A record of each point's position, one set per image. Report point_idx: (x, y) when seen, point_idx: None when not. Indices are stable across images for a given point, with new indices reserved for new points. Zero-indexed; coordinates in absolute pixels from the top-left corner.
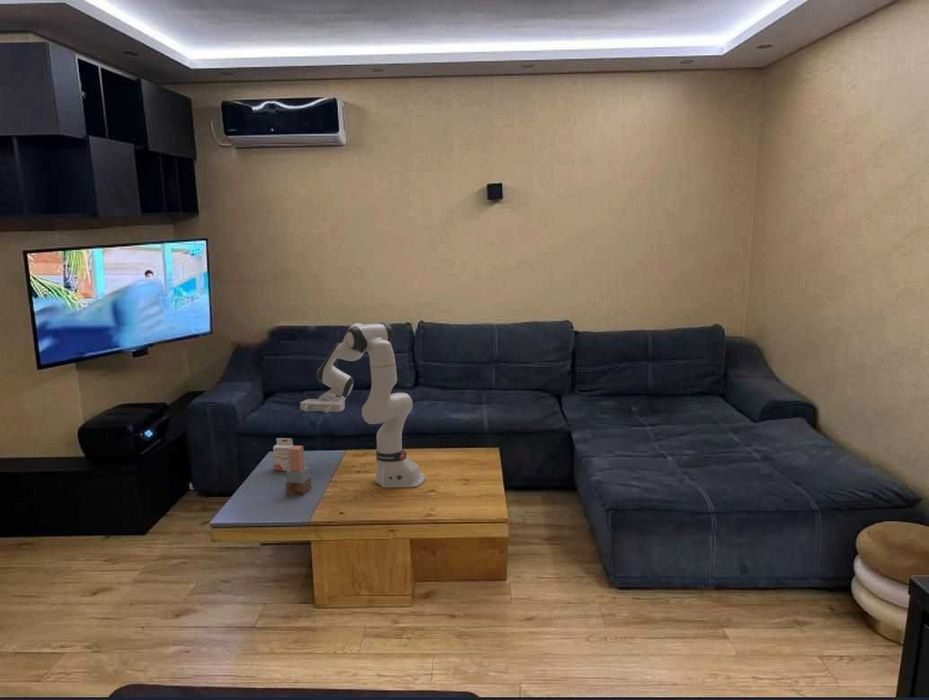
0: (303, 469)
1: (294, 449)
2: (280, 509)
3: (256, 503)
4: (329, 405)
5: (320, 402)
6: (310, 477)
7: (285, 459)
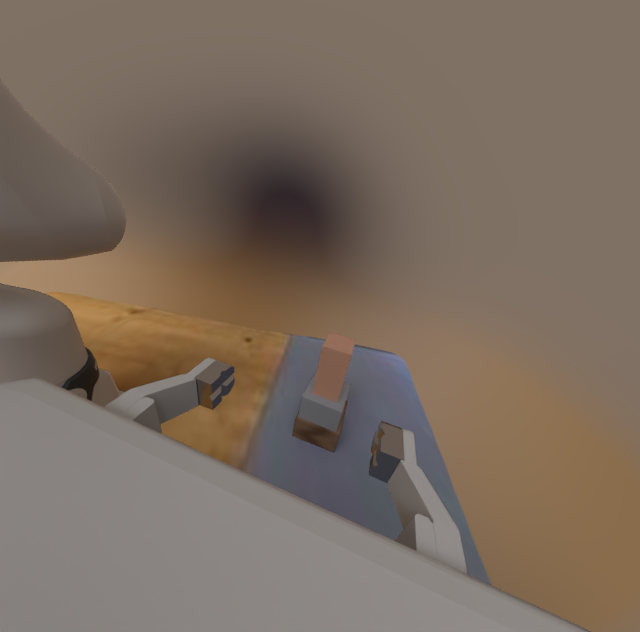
0: (313, 385)
1: (340, 335)
2: None
3: (381, 391)
4: (129, 423)
5: (219, 563)
6: (296, 417)
7: None
